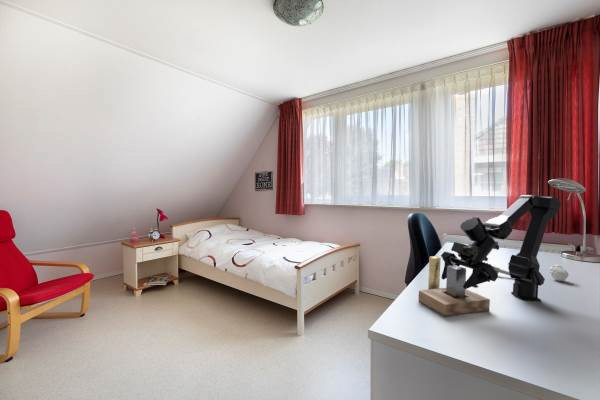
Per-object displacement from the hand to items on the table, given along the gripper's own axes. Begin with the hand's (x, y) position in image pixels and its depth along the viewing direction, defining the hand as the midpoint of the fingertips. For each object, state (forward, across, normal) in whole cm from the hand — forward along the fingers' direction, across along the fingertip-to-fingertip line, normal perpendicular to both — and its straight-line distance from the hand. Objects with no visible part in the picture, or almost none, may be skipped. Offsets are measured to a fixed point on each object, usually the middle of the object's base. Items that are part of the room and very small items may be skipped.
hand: (452, 283), depth 92 cm
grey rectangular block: (+4, 0, +6) cm, 8 cm away
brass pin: (+2, -14, +10) cm, 17 cm away
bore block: (+5, 0, +7) cm, 8 cm away
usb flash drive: (-10, -17, +23) cm, 30 cm away
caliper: (-30, -19, +42) cm, 55 cm away
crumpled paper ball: (-43, -11, +55) cm, 71 cm away
